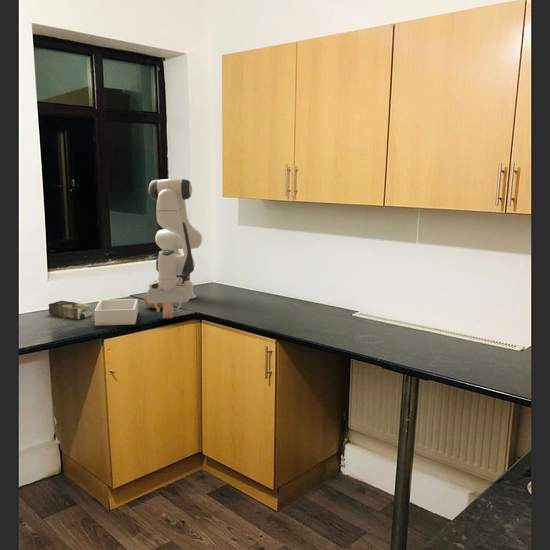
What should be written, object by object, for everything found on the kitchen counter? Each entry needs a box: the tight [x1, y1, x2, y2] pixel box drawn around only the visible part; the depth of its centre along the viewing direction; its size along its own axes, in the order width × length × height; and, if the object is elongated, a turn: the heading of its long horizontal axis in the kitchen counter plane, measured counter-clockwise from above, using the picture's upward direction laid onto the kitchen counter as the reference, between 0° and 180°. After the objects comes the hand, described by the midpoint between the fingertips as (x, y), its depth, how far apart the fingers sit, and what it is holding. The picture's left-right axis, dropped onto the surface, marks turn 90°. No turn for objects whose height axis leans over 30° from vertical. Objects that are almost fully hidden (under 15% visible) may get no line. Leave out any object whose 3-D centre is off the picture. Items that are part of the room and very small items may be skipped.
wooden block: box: [162, 302, 174, 320], centre depth 269 cm, size 5×5×8 cm
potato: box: [143, 293, 163, 310], centre depth 287 cm, size 10×14×8 cm
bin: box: [94, 298, 139, 326], centre depth 265 cm, size 22×18×7 cm
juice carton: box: [48, 300, 93, 320], centre depth 270 cm, size 20×10×6 cm, turn 66°
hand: (168, 311), depth 270 cm, fingers open, 8 cm apart
